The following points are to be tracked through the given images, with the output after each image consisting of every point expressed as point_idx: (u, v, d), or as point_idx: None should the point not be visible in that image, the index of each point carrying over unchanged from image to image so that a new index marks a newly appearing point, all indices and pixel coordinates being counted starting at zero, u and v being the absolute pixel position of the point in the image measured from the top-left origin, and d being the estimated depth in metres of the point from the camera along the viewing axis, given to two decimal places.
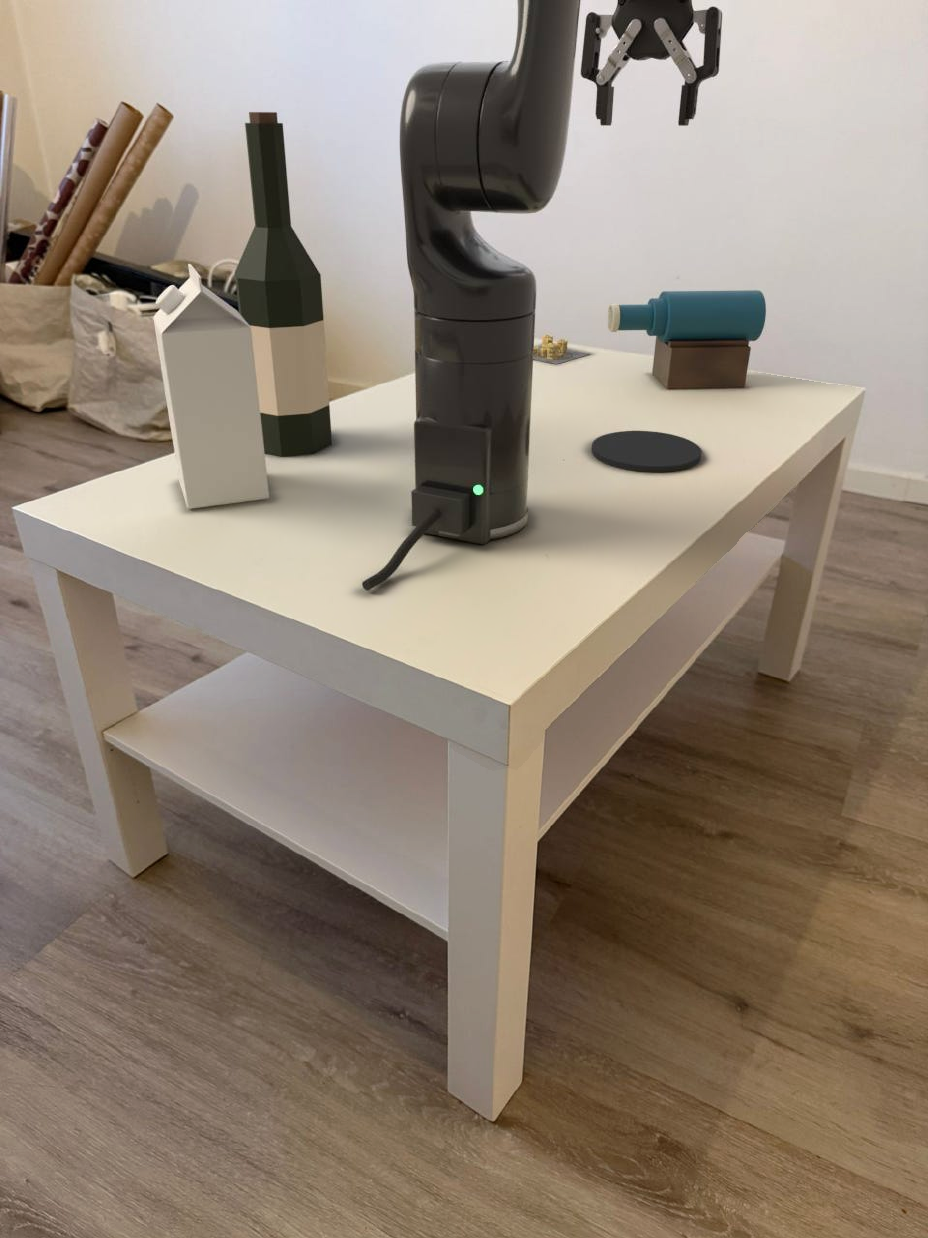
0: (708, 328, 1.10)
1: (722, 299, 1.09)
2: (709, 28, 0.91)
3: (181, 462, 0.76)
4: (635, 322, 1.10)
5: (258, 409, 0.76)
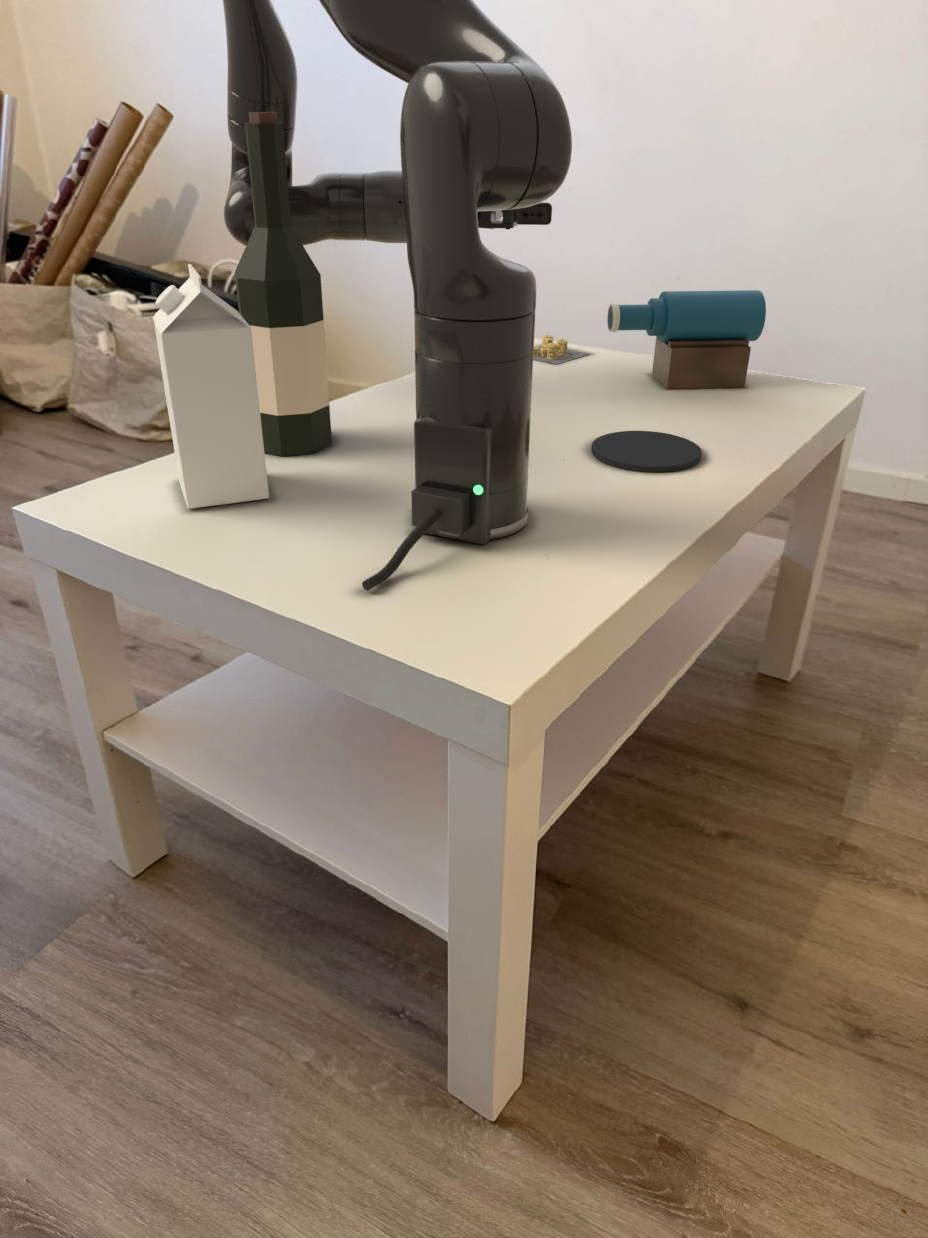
0: (708, 328, 1.10)
1: (722, 299, 1.09)
2: None
3: (181, 462, 0.76)
4: (635, 322, 1.10)
5: (258, 409, 0.76)
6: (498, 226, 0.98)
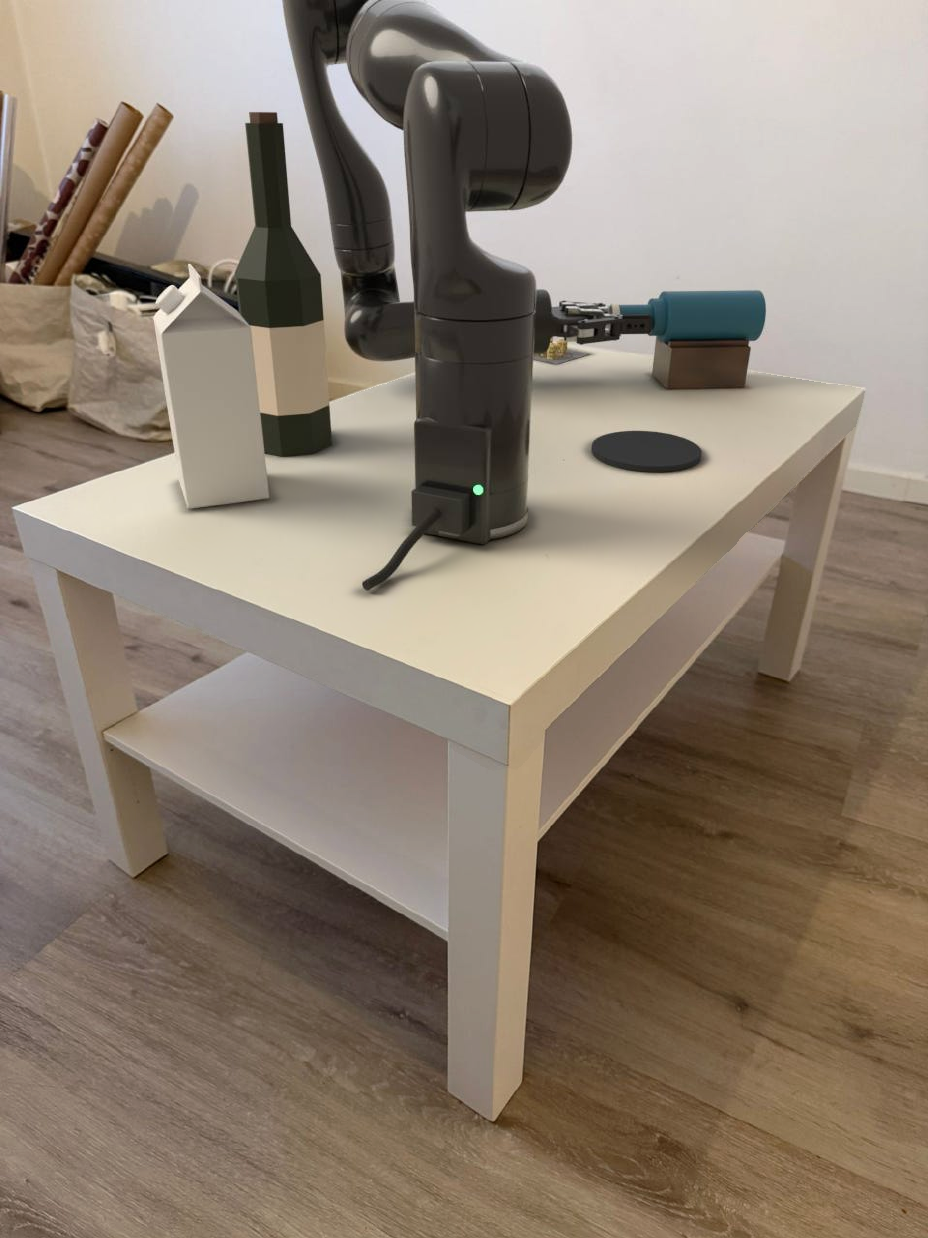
0: (708, 328, 1.10)
1: (722, 299, 1.09)
2: (573, 302, 1.15)
3: (181, 462, 0.76)
4: None
5: (258, 409, 0.76)
6: (610, 339, 1.07)
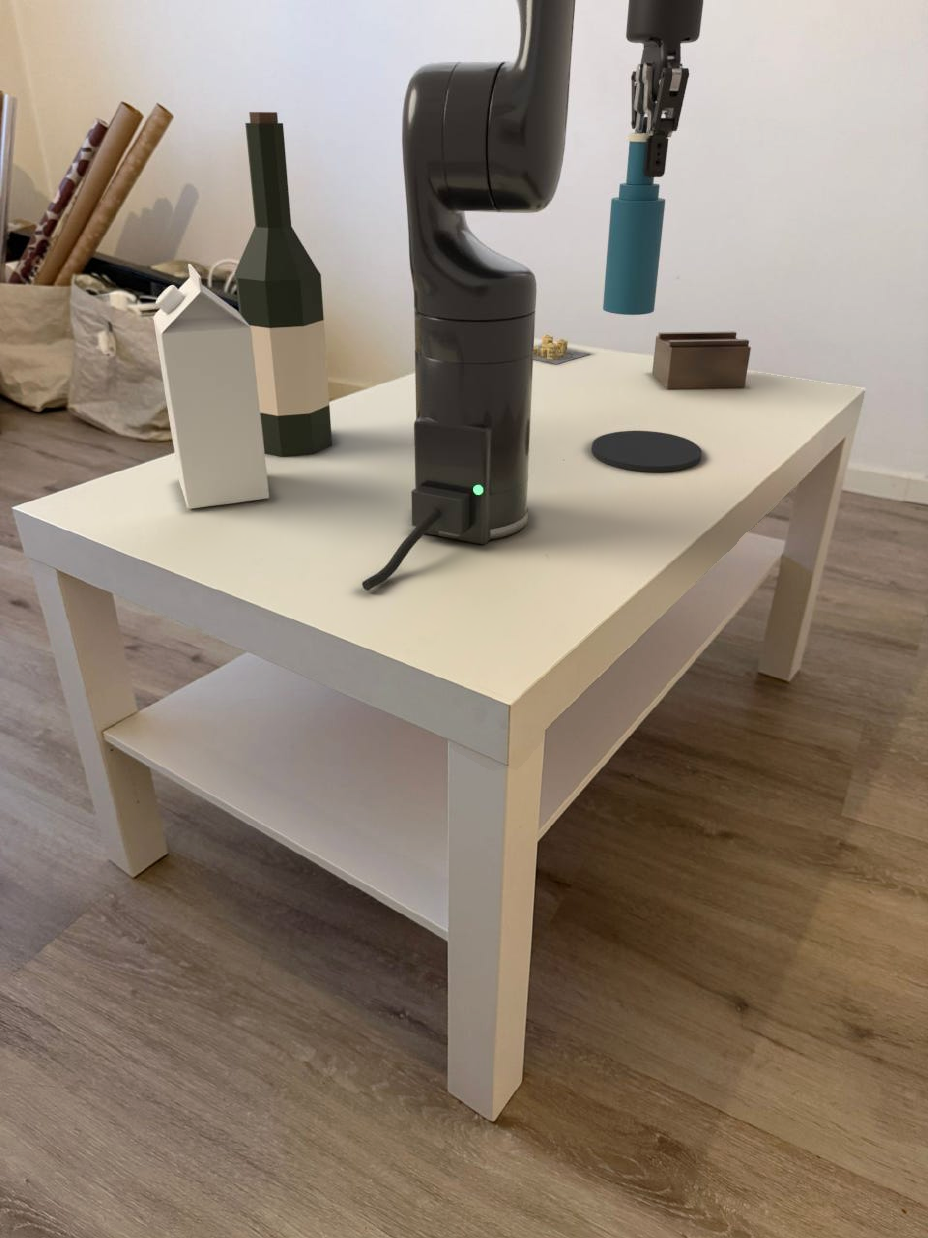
0: None
1: None
2: (660, 87, 0.92)
3: (181, 462, 0.76)
4: None
5: (258, 409, 0.76)
6: None
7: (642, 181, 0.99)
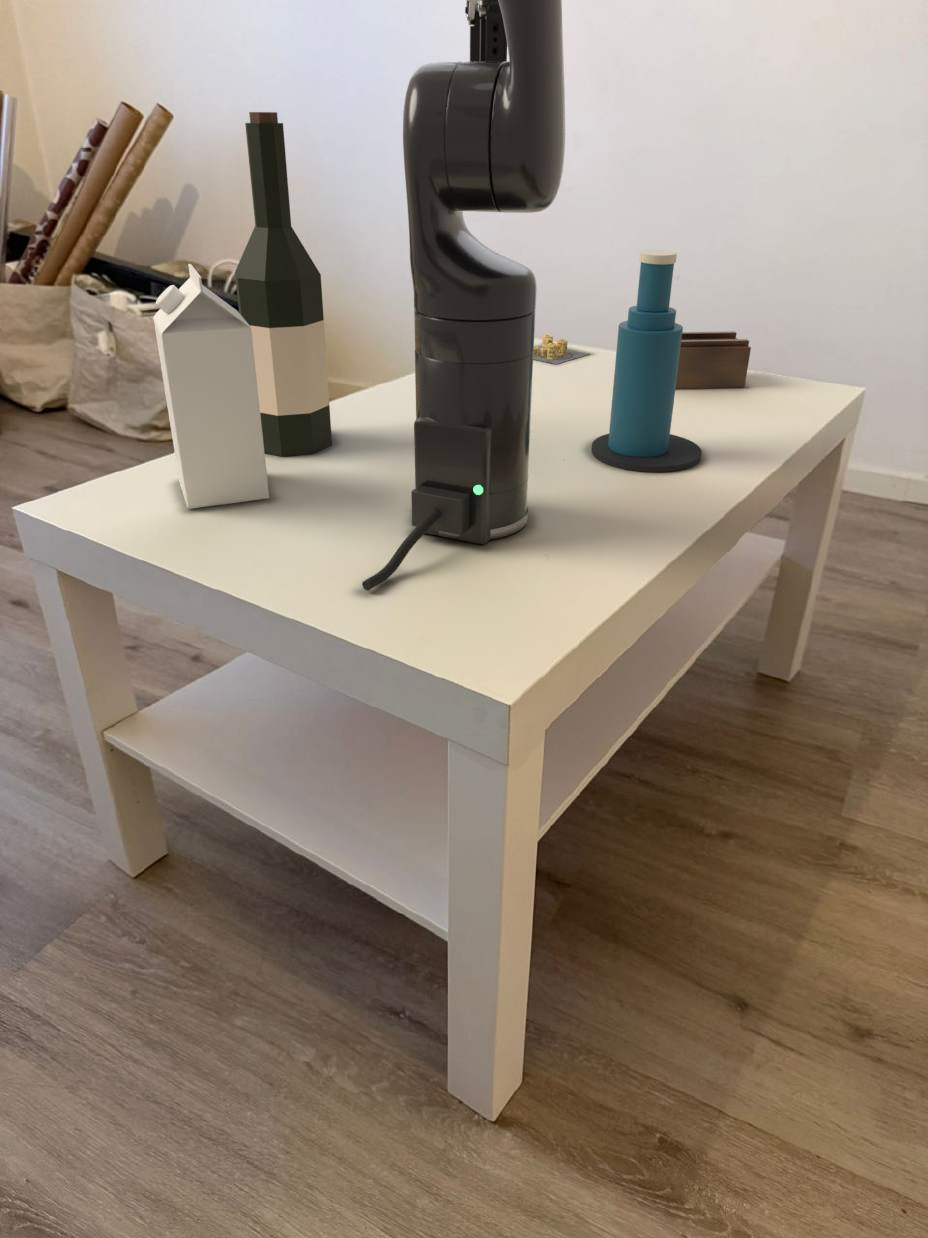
0: None
1: None
2: None
3: (181, 462, 0.76)
4: None
5: (258, 409, 0.76)
6: None
7: (655, 308, 0.84)
